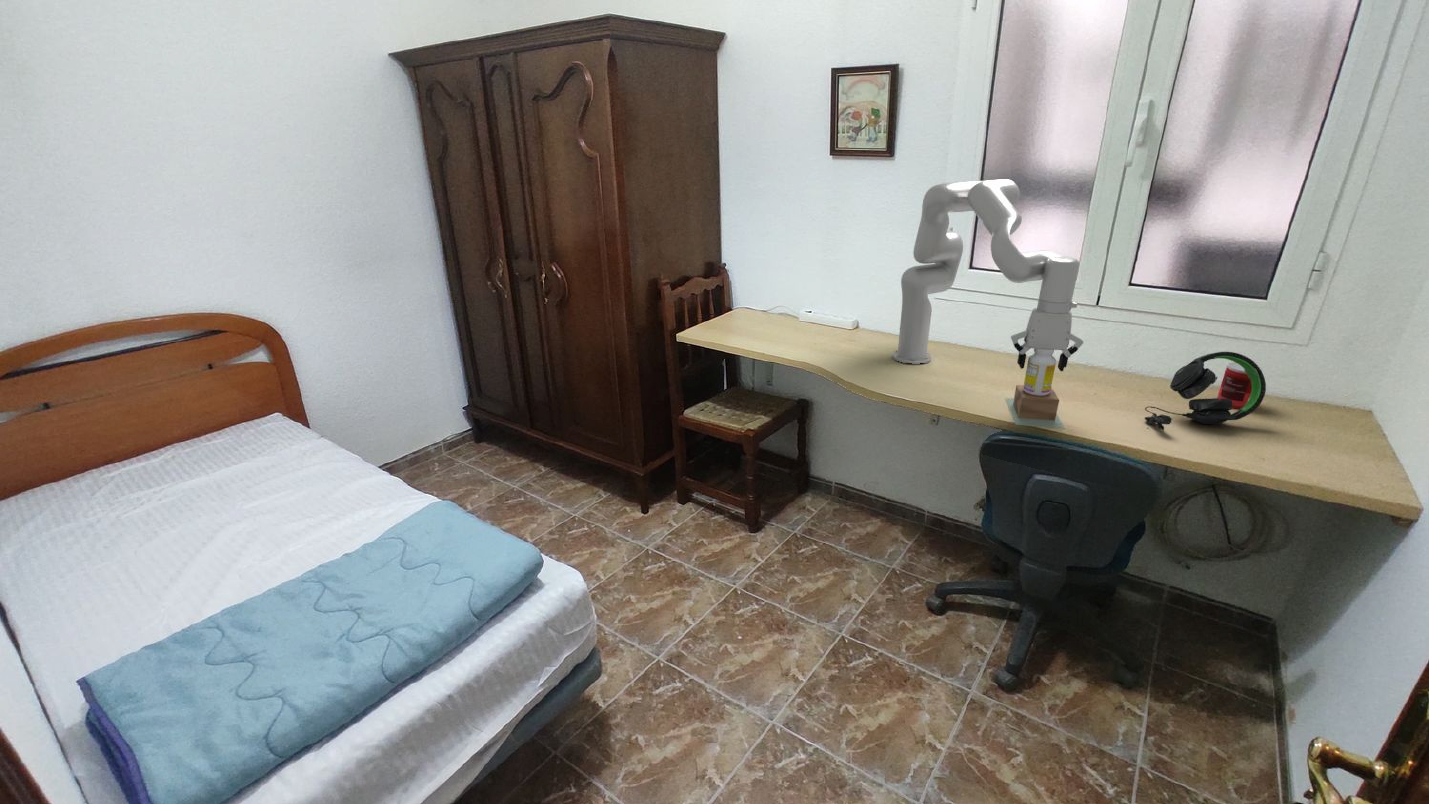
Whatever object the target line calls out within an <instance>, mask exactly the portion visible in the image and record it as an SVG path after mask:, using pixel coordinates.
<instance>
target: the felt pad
mask: <svg viewBox="0 0 1429 804" xmlns="http://www.w3.org/2000/svg"><path fill="white" fill-rule="evenodd" d="M1004 399H1005V402H1006V404H1007V407H1008V409H1009V410H1008V411H1009V412H1010V415H1011V418H1012V419H1013V422H1014V424H1015V426H1027V427H1040V428H1055V429H1066V426H1064V424H1063V422H1062V420H1061V418H1060V417H1059V415H1058V413H1056V418H1055V421H1054V420H1040V419H1027V418H1019V417H1018V415H1017V413H1016V410H1015V408H1014V406H1013V402H1014V398H1013V397H1012V398H1011V397H1005V398H1004Z"/></svg>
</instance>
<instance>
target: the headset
mask: <svg viewBox="0 0 1429 804" xmlns="http://www.w3.org/2000/svg"><path fill="white" fill-rule="evenodd" d="M1218 359H1225V360H1229V361H1232V362H1236V363H1238V364H1239V365H1241V366H1242V367H1243V368H1244V370H1245V372H1246V373H1247V375H1248V377H1249V378H1250V379H1251V383H1252V392H1251V396H1250V398H1249V401H1248V402H1247V403H1246V405H1245V406H1244V407H1242V408H1241V409H1238V411H1235V412H1233V413H1231V411H1232V410H1234V408H1232V407H1233V403H1232V400H1230V399H1222V398H1217V397H1215V398H1195V397H1197V396H1199V395H1200V394H1201V393H1203V392H1204V391H1206V390H1207V389H1208V388H1209V386H1211V385H1213V384H1214V383H1215V382H1216V381H1217V379H1218V376H1216V373H1215V372H1214V371H1212V370H1211V369H1210V368H1208V367H1207V368H1205V362H1207V361H1210V360H1218ZM1259 367H1260V366H1259V365H1258V364H1257V363H1256V362H1255V361H1254V360H1253V359H1251V358H1249V357H1248V356H1246V355H1244V354H1241V353H1238V352H1234V351H1218V352H1213V353H1212V352H1211V353H1207V354H1205V355H1202V356H1199V357H1196V358H1194V359H1193V360H1192V361H1191V362H1189V363H1187V364H1186V365H1183V366H1182V367H1181V368H1179V369H1178V370H1176V371H1175V373H1174V375H1173V378H1172V380H1171V382H1170V389H1171V390H1172V391H1173V392H1177V393H1178V394H1179V395H1180V397H1181V398H1182V399H1184V400H1189V401H1188V410H1192V411H1191V412H1186V413H1177V412H1171V411H1168V410H1165V409H1162V408H1159V407H1156V406H1146V407H1144V411H1146V412H1147V413H1150V414H1152V415H1151V416H1146V417H1144V420H1145V421H1146V422H1147V423H1148V424H1149V425H1152V426H1153V425H1155V424H1156V425H1157V427H1158V429H1160V430H1162V431H1164V430H1165V427H1164V425H1170V424H1171V423H1172V420H1173V418H1172V417H1171V416H1170V415H1165V414H1162V413H1161V414H1159V415H1158V413H1155V412H1151V411H1150V410H1147V409H1148V408H1151V409H1157V410H1159V411H1162V412H1165V413H1167V414H1173V415H1177V416H1182V417H1186V418H1189V419H1192V420H1194V421H1195V422H1198V423H1200V424H1202V425H1220V424H1223V423H1225V422H1227V421H1238V420H1241V419H1242V418H1245V417H1246V416H1249V415H1250V414H1252V413H1253V412H1254V411H1256V410H1257V408H1259V407H1260V405H1261V403H1262V402H1263V400H1264V398H1265V395H1266V393H1267V392H1266V391H1267V386H1266V380H1265V379H1266V378H1265V376H1264V373H1263V370H1262V371H1261V370H1260V368H1261V367H1260V368H1259Z"/></svg>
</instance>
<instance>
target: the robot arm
mask: <svg viewBox="0 0 1429 804" xmlns="http://www.w3.org/2000/svg"><path fill="white" fill-rule="evenodd" d="M1020 195H1021V192H1020V189H1019V186H1018V185H1017V183H1015V181H1013V180H1011V179H1008V178H1002V179H1001V178H999V179H986V180H970V181H956V182H955V181H954V182H945V183H939V184H935V185H933V186H931V187H930V188H929V189H928V190H927V191H926V192H925V195H924V197H923V199H922V205H921V208H922V209H921V217H920V222H919V227H918V231H917V234H916V238H915V242H914V246H913V252H912V253H913V258H914V260H915V261H916V262H917V263H919V264H921V265H915V266H912V267H909V268H908V269H906V270H905V271H904V272H903V273H902V275H901V278H900V280H901V281H900V285H901V286H900V287H901V294H902V295H901V296H902V297H901V298H902V300H901V302H902V303H901V304H902V305H901V313H900V323H899V334H898V344H897V350H896V351H894V352H892V359H893V360H895V361H896V362H898V361H899V363H901V362H902V363H903V364H906V363H912V364H911V365H921V364H920V363H924V364H927V363H929V362H931V360H932V356H931V354H930V353H928V344H929V336H930V327H931V320H932V319H931V318H932V312H933V311H932V309H933V308H932V303H931V302H930V299H929V298H928V297H929V295H932V294H938V293H943V292H946V291H949V290H950V289H951V288H952V286H953V285H954V282H955V280H956V277H957V273H958V271H959V266H960V262H961V260H962V256H963V252H964V242H963V239H962V236H961V235H960V234H959V233H958V232H957V231H954V230H949V225H950V217H949V213H962V212H974V214H975V215H976V217H977V218H978V219H979V220H980V222H981V223H982V225H983V226H984V227H985V229H986V230H987V231H988V233H989V234H990V236H991V240H990V251H991V252H990V253H991V258H992V260H993V262H994V264H995V265H996V267H997V268H998V269H999V271H1000V272H1001V274H1003V276H1004V277H1005V278H1006V279H1008V281H1010V282H1012V283H1015V284H1022V283H1028V282H1036V281H1041V285H1040V290H1039V294H1038V295H1039V296H1038V301H1037V305H1036V307H1034V308H1033V309H1032V311H1031V313H1030V316H1029V319H1028V322H1027V325H1026V328H1025V330H1023V331H1021V332H1018V333H1016V334H1014V335H1011V336H1010V339H1011V341H1012V344H1013V347H1014V348H1015V349H1016V351H1018V356H1017V365H1019V368H1020V369H1021V370H1023V369H1025V365H1026V361H1027V360H1026V359H1027V354H1026V353H1027V352H1028V351H1030V350H1031V349H1033V350H1034V349H1052V350H1054V351H1061V352H1062V353H1060V355H1059V359H1058V364H1057V368H1058V370H1059V371H1060V372H1064V369H1065V368H1067V365H1068V360H1069V358H1070V357H1071V355H1073V354H1075V353H1076V352H1078V351H1079V349H1080V348H1081V346H1083V344H1084V341H1083V339H1082V338H1080V337H1078V336H1076V335H1075V334H1072V321H1073V314H1072V312H1071V311H1072V309H1076V308H1077V307H1078V303H1077V302H1074V301H1073V295H1074V292H1075V287H1076V283H1077V278H1078V275H1079V269H1080V261H1079V260H1078V259H1077V258H1076V257H1075V258H1074V257H1072V256H1065V255H1064V256H1063V255H1059V254H1058V253H1056V252H1054V251H1051V250H1046V249H1045V250H1036V251H1027V252H1021V251H1020V250H1019V249H1018V247H1017V246H1016V245H1015V244H1014V242H1013V241H1012V238H1011V235H1013V234H1014V233H1015V232H1016V231H1017V230H1018V229H1019V228H1020V226H1021V225H1022V221H1023V219H1022V215H1021V214H1020V213H1019V211H1018V210H1017V209H1016V205H1017V204H1018V202H1019V200H1020V197H1021V196H1020ZM922 264H923V265H922ZM1021 339H1023V341H1024V343H1022V344H1020V343H1019V340H1021ZM1070 341H1071V342H1074V343H1073V345H1071V346H1070V347H1069V345H1070V344H1069V343H1070Z"/></svg>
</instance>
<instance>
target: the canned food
mask: <svg viewBox="0 0 1429 804" xmlns="http://www.w3.org/2000/svg"><path fill="white" fill-rule="evenodd" d="M1258 367H1259V368H1260V370H1261V371H1262V372H1263V369H1262V367H1260V366H1258ZM1251 392H1252V383H1251V379H1250V378H1249V377H1248V375H1247V373H1246V372H1245V370H1244V368H1243V367H1242V366H1241V365H1239V364H1238V363H1236V362H1234V361H1232V362H1229V363H1228V364H1227V365H1226V368H1225V371H1224V374H1223V378H1222V381H1221V384H1220V387H1219V390H1218V393H1217V397H1216V398H1222V399H1230V400H1232V403H1233V407H1232V408H1233V409H1237V410H1240V409H1241V408H1242V407H1244V406H1245V405H1246V403H1247V402H1248V401H1249V398H1250V396H1251Z"/></svg>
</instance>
